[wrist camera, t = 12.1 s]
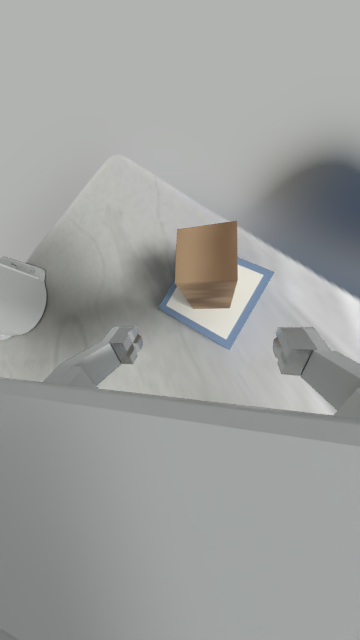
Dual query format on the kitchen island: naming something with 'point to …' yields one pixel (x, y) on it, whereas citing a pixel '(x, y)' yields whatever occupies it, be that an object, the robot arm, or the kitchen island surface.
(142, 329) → the kitchen island surface
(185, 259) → the walnut block
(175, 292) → the pedestal
